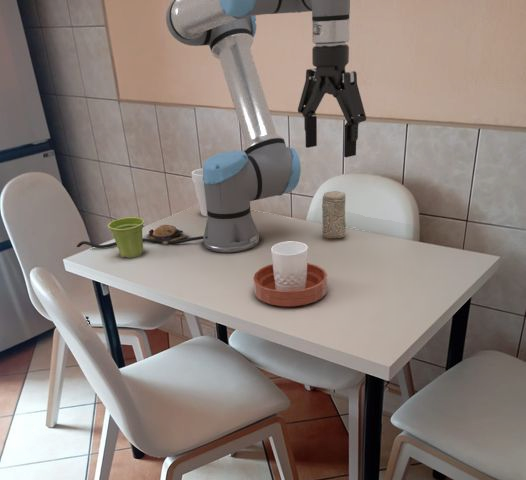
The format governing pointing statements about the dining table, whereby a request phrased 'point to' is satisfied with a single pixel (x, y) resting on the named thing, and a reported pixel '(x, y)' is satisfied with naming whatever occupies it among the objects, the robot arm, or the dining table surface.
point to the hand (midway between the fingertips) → (329, 151)
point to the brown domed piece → (166, 233)
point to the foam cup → (200, 189)
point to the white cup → (290, 265)
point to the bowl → (270, 295)
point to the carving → (333, 214)
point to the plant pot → (128, 236)
